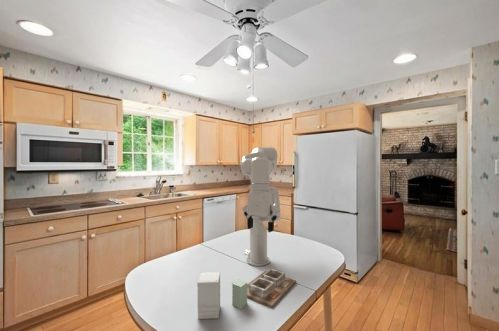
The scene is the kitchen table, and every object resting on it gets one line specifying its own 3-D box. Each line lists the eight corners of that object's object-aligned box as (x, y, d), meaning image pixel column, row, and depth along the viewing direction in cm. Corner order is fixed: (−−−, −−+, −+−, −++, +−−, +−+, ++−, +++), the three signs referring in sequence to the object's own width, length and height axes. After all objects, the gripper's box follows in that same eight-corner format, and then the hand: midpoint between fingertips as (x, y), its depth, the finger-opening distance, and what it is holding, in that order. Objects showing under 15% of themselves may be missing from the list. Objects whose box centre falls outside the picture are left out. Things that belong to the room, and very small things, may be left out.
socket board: (237, 293, 92) (237, 283, 92) (265, 272, 110) (265, 264, 110) (271, 308, 82) (271, 297, 82) (296, 282, 100) (296, 273, 100)
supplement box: (220, 305, 84) (220, 271, 84) (218, 319, 76) (218, 282, 76) (200, 305, 84) (201, 272, 84) (196, 319, 76) (197, 282, 76)
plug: (232, 305, 84) (232, 283, 84) (238, 299, 87) (239, 279, 87) (240, 308, 82) (240, 287, 82) (247, 303, 85) (247, 282, 85)
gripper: (238, 187, 94) (237, 228, 93) (274, 189, 84) (274, 235, 83) (248, 186, 100) (247, 225, 99) (283, 188, 90) (283, 231, 90)
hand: (260, 229), depth 91 cm, fingers open, 9 cm apart
